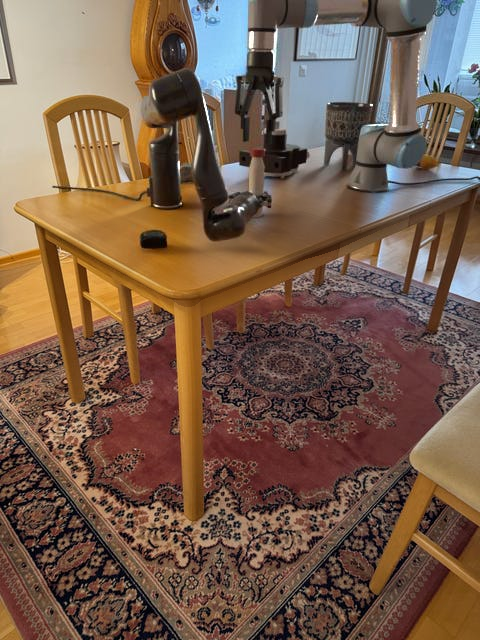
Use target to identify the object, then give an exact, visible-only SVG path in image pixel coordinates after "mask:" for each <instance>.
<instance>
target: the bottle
mask: <svg viewBox="0 0 480 640" xmlns="http://www.w3.org/2000/svg"><path fill="white" fill-rule="evenodd" d="M248 172H249V173H248V190H249V192H250V193H252V194H254V195H257V194H263V193H264V185H265V184H264V183H265V177H264V164H263V160H262V157H252V160H251V163H250V167H248ZM263 209H264V206H262V207H261V208H259V210H258V211H257V213H256V214H255V215H254V216H253V217H252V218H261V217H262V216H263Z"/></svg>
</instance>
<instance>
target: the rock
mask: <svg viewBox="0 0 480 640" xmlns="http://www.w3.org/2000/svg"><path fill="white" fill-rule="evenodd" d="M179 167H180V184H187V183H194V182H193V179H192V171H191V169H192V163H189V162H186V161H184V162H183V163H182V164H181V165H179Z"/></svg>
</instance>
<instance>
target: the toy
mask: <svg viewBox="0 0 480 640" xmlns="http://www.w3.org/2000/svg"><path fill="white" fill-rule="evenodd" d="M439 166H440V161H438V160H435V158H434V156H432V155H429V154H424V156H423V158H422V159H421V160H420V162H419V163H418V164H417V165H415V166H414V167H418V168H421V169H424V170H431V169H435V168H437V167H439Z"/></svg>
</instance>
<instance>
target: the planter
mask: <svg viewBox="0 0 480 640" xmlns="http://www.w3.org/2000/svg"><path fill="white" fill-rule="evenodd" d="M373 107H374V106H373V104H372V103H367V102H353V101H333V102H327V103H326V109H325V124H324V125H325V126H324V139H325V144H324V156H323V157H324V158H323V165H325V166H328V165H330V163H331V158H332V156H333V154H334V153H335V151H336V150H337V149H340V148H341V150H342V153H341V166H340V170H341V172H345V171H347V167H348V166H347V165H348V159H349V154H348V152H349V150H350V151H351V153H352V154H351V157H352V158H351V159H352V160H351V161H352V166H353V167H355V165H356V158H357V150H358V142H359V136H360V131H361V128H362V127H363V126H364V125H370V121H371V116H372V112H373Z"/></svg>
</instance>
